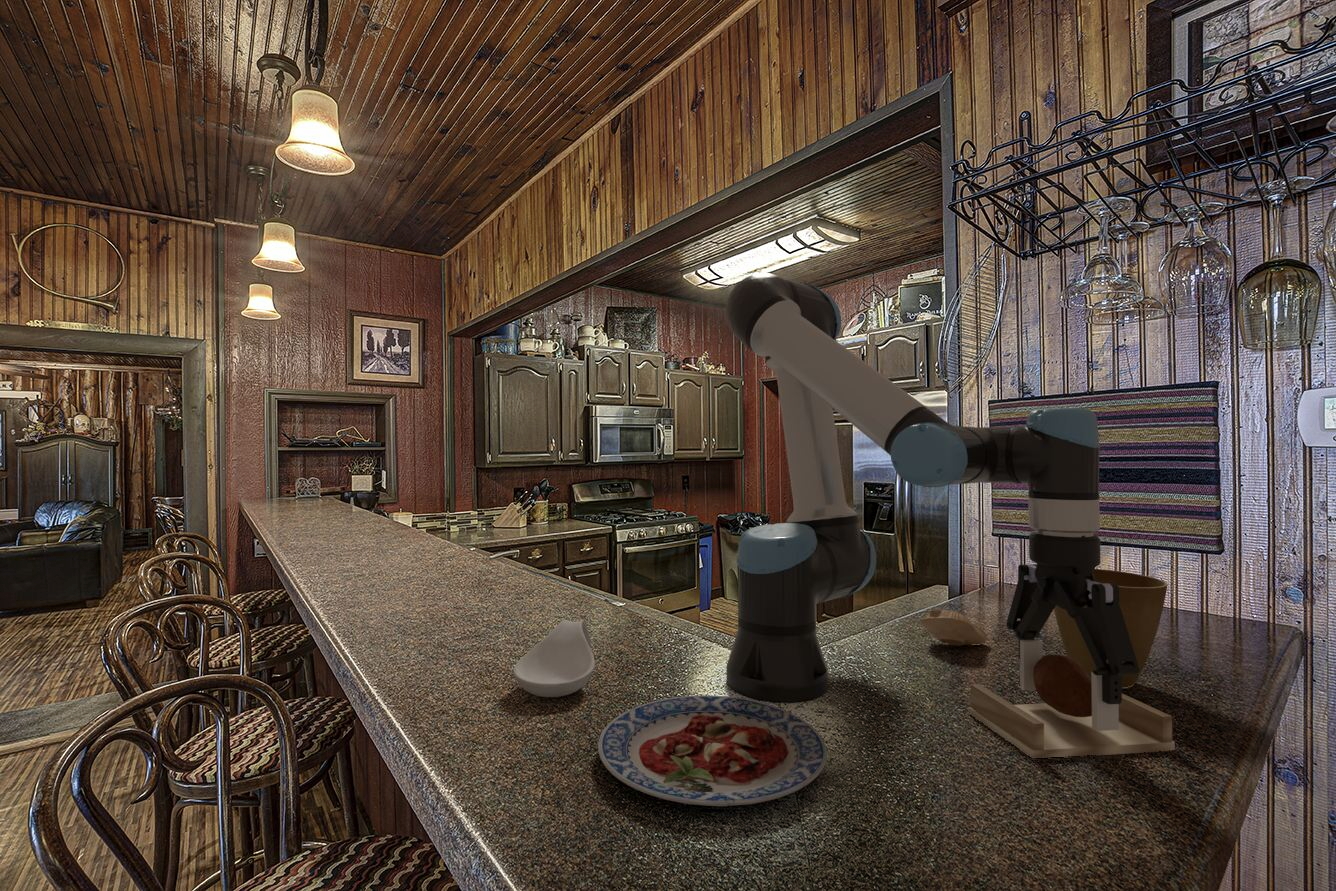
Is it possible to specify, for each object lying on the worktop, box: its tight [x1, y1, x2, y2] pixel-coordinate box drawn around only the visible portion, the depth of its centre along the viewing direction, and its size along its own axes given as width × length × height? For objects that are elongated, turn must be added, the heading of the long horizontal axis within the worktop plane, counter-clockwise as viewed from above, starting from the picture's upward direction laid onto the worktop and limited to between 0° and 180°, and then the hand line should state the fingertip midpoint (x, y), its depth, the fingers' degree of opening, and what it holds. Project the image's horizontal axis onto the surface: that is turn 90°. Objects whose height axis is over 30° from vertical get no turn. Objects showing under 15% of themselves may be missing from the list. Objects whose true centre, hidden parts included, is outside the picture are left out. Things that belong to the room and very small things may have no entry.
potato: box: [1033, 654, 1092, 717], centre depth 77 cm, size 6×12×6 cm, turn 1°
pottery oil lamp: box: [920, 609, 989, 647], centre depth 111 cm, size 9×12×7 cm
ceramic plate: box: [597, 694, 828, 807], centre depth 71 cm, size 26×26×3 cm
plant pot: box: [1053, 568, 1168, 687], centre depth 94 cm, size 15×15×16 cm
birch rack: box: [968, 683, 1176, 758], centre depth 77 cm, size 18×12×4 cm, turn 97°
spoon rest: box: [512, 619, 596, 698], centre depth 97 cm, size 24×12×7 cm, turn 178°
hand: (1065, 707), depth 77 cm, fingers closed on potato, 11 cm apart
